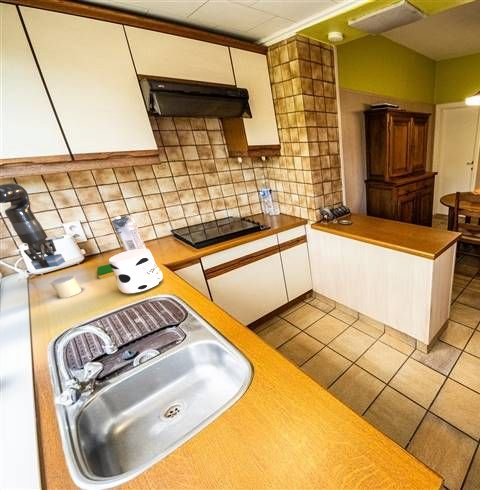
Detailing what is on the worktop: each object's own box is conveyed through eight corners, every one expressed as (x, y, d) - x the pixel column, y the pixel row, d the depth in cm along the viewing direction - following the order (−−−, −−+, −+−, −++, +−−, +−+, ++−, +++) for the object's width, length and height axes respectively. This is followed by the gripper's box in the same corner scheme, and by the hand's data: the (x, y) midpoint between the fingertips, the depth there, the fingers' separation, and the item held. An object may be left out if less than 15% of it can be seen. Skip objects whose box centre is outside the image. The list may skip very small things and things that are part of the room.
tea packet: (35, 269, 119) (30, 261, 117) (43, 264, 123) (38, 257, 122) (58, 265, 121) (54, 258, 120) (65, 261, 126) (61, 253, 124)
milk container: (171, 283, 134) (158, 251, 127) (129, 301, 121) (112, 266, 114) (157, 275, 143) (144, 244, 136) (116, 290, 130) (99, 258, 123)
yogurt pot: (55, 300, 125) (46, 285, 122) (65, 291, 132) (57, 277, 128) (76, 295, 127) (68, 281, 124) (85, 287, 134) (77, 274, 131)
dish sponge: (99, 279, 142) (97, 275, 141) (99, 270, 151) (97, 267, 150) (116, 274, 147) (114, 270, 146) (115, 266, 156) (113, 262, 155)
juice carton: (149, 251, 173) (132, 212, 163) (145, 257, 165) (128, 216, 154) (132, 255, 170) (114, 215, 159) (128, 261, 161) (108, 219, 150)
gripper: (30, 227, 120) (50, 260, 127) (4, 237, 108) (28, 273, 115) (51, 224, 123) (70, 257, 130) (29, 234, 110) (50, 269, 117)
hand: (50, 264), depth 122 cm, fingers closed on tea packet, 5 cm apart
